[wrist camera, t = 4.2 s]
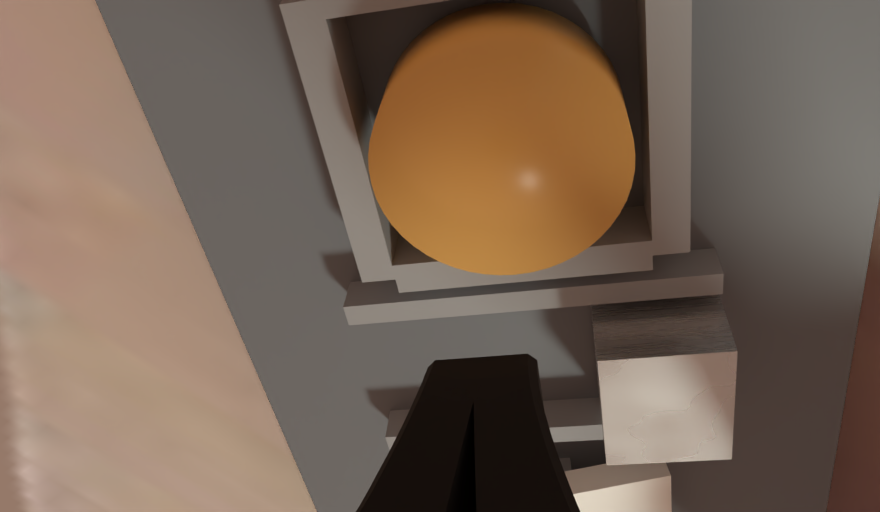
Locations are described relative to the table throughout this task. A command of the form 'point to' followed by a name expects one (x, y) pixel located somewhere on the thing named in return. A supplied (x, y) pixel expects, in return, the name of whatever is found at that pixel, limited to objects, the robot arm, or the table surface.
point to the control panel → (549, 290)
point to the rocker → (622, 488)
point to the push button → (502, 141)
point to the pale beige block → (665, 380)
